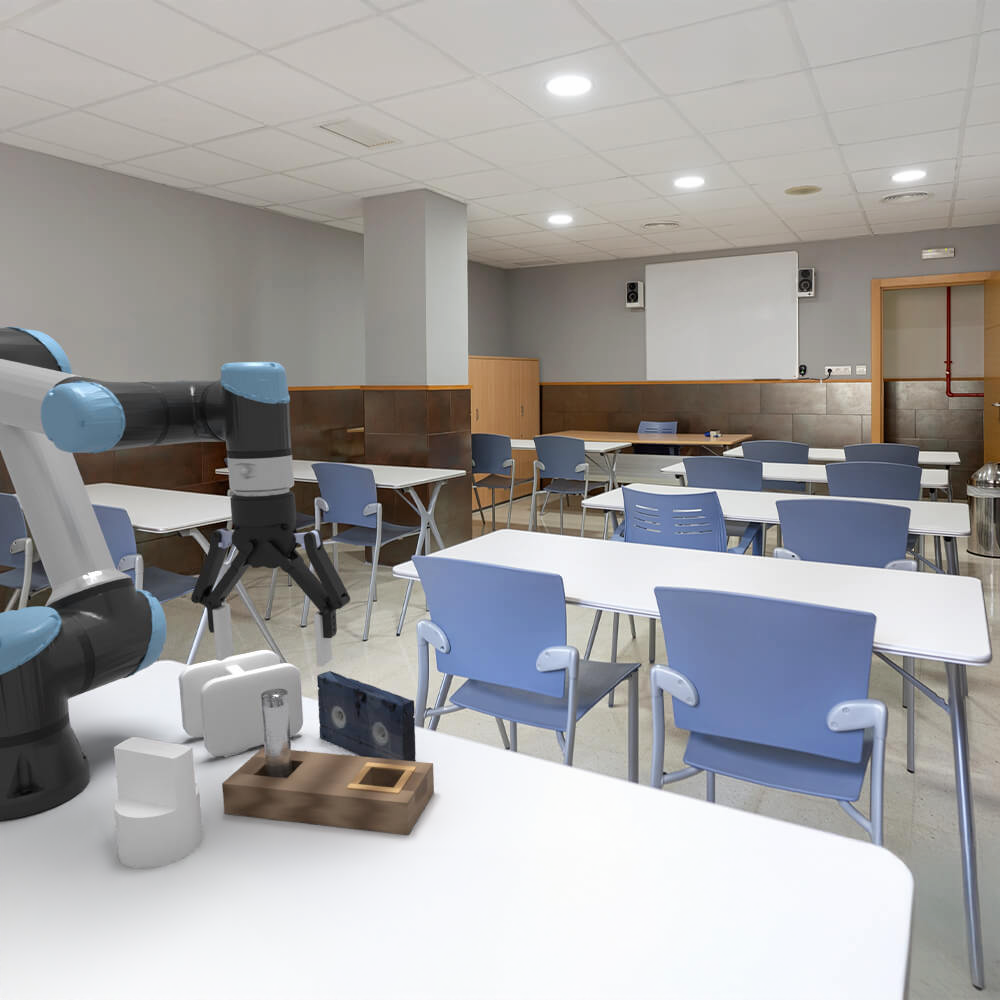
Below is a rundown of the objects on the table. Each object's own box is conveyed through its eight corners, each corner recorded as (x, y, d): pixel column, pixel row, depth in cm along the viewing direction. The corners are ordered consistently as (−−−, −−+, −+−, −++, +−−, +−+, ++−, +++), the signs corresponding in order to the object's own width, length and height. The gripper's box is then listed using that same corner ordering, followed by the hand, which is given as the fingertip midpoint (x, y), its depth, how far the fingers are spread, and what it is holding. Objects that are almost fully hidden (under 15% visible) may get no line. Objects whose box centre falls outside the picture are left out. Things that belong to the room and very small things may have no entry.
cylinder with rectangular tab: (100, 859, 91) (90, 759, 89) (159, 818, 99) (151, 726, 98) (163, 875, 88) (155, 771, 86) (219, 831, 96) (212, 736, 94)
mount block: (224, 813, 100) (222, 781, 100) (264, 775, 110) (262, 745, 109) (408, 834, 95) (407, 801, 94) (434, 792, 104) (433, 761, 104)
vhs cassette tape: (417, 768, 111) (415, 699, 110) (401, 777, 109) (398, 706, 107) (335, 732, 123) (332, 669, 122) (318, 738, 121) (315, 675, 119)
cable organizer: (202, 766, 113) (196, 686, 111) (182, 739, 121) (176, 665, 120) (304, 737, 121) (300, 663, 120) (279, 714, 130) (275, 644, 128)
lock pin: (263, 802, 103) (256, 697, 101) (275, 790, 106) (269, 687, 104) (286, 805, 102) (279, 699, 100) (297, 792, 105) (292, 689, 103)
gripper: (152, 495, 97) (167, 664, 100) (346, 496, 91) (355, 676, 95) (189, 486, 104) (202, 645, 107) (370, 487, 99) (379, 654, 102)
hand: (274, 660), depth 101 cm, fingers open, 13 cm apart
